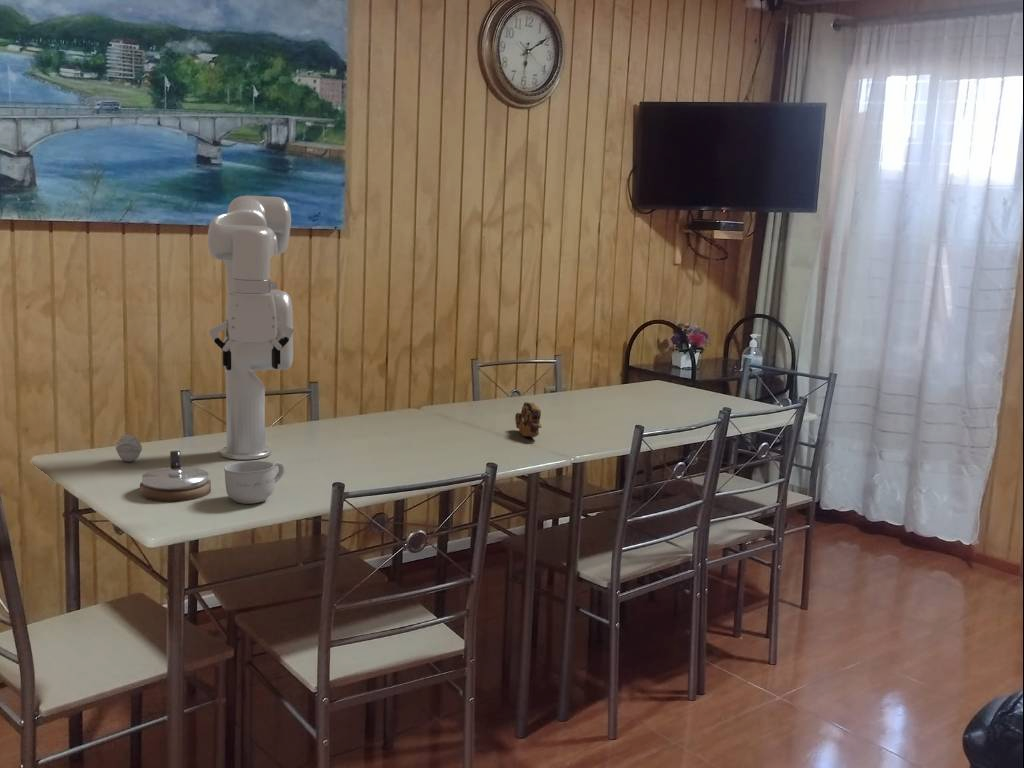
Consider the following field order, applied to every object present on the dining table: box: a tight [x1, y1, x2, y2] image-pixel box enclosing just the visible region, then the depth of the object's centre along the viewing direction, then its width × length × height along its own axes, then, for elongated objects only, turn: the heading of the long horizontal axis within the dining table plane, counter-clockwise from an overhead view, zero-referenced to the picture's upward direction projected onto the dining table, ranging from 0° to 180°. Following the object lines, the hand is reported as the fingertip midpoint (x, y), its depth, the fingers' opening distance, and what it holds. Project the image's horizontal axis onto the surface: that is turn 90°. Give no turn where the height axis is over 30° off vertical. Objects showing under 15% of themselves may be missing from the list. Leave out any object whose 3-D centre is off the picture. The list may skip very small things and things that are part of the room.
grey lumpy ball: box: [115, 434, 143, 463], centre depth 244 cm, size 6×7×7 cm
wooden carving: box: [514, 401, 542, 438], centre depth 289 cm, size 16×5×10 cm, turn 23°
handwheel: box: [141, 450, 209, 491], centre depth 221 cm, size 14×14×6 cm
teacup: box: [223, 460, 285, 505], centre depth 219 cm, size 14×11×8 cm
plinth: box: [139, 478, 212, 503], centre depth 222 cm, size 15×15×2 cm
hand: (251, 368), depth 210 cm, fingers open, 9 cm apart
